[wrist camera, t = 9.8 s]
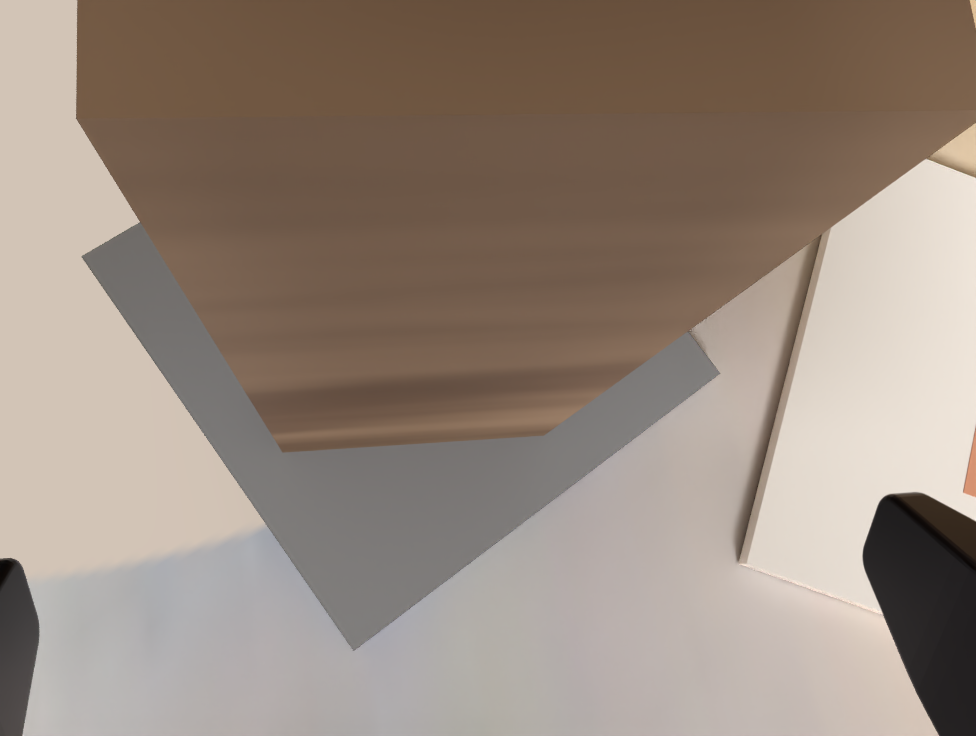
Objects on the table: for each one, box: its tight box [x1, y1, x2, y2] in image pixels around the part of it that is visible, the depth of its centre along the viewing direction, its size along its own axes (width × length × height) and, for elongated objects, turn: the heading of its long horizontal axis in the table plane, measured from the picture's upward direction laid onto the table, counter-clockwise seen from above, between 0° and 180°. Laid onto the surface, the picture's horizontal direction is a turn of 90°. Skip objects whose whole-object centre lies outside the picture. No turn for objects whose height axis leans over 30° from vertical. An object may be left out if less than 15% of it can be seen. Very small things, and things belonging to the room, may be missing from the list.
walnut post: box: [76, 0, 976, 453], centre depth 12 cm, size 5×5×13 cm
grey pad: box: [82, 223, 720, 651], centre depth 18 cm, size 9×9×1 cm
